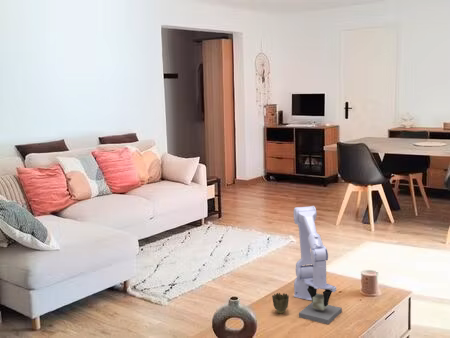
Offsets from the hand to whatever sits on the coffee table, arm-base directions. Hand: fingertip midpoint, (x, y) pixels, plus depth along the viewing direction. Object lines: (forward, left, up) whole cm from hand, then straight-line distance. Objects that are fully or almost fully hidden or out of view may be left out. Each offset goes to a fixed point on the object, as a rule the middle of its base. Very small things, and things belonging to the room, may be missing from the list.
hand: (320, 304), depth 229 cm
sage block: (0, 0, -2) cm, 2 cm away
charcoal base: (0, 0, -5) cm, 5 cm away
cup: (-16, -7, -5) cm, 18 cm away
